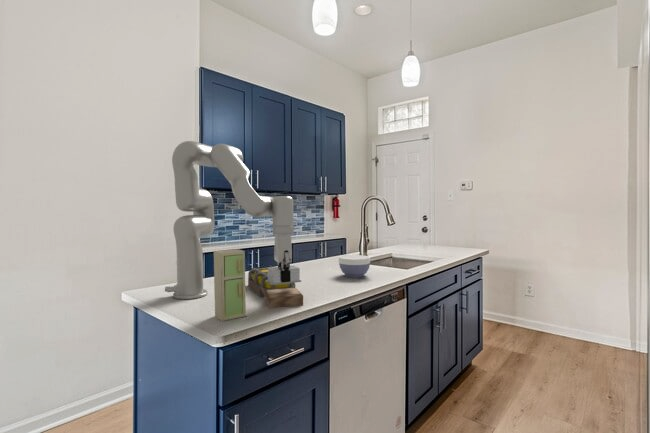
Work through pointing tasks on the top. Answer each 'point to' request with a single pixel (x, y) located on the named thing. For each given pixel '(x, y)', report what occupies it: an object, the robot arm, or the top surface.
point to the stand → (283, 297)
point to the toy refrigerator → (229, 284)
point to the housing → (275, 275)
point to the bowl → (354, 265)
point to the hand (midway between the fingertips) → (283, 279)
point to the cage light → (263, 282)
